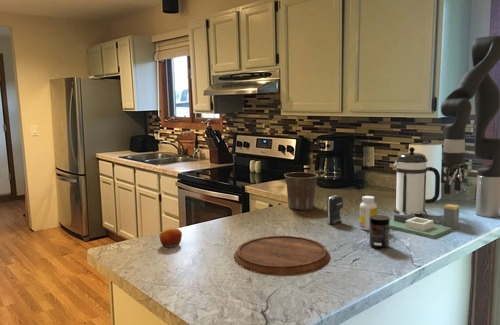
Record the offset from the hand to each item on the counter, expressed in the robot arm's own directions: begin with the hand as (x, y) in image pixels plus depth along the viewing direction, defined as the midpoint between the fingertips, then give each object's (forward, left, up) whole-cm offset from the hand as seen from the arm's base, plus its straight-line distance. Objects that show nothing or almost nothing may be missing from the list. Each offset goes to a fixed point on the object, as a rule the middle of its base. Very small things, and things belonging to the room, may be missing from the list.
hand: (452, 192), depth 166 cm
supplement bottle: (+23, -22, -15) cm, 35 cm away
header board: (+10, -9, -14) cm, 20 cm away
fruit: (+91, -59, -15) cm, 110 cm away
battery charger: (+26, -36, -15) cm, 47 cm away
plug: (0, 0, -14) cm, 14 cm away
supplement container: (+38, -7, -15) cm, 42 cm away
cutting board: (+69, -24, -15) cm, 75 cm away
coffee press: (-9, -21, -15) cm, 27 cm away
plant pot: (+17, -65, -15) cm, 69 cm away
